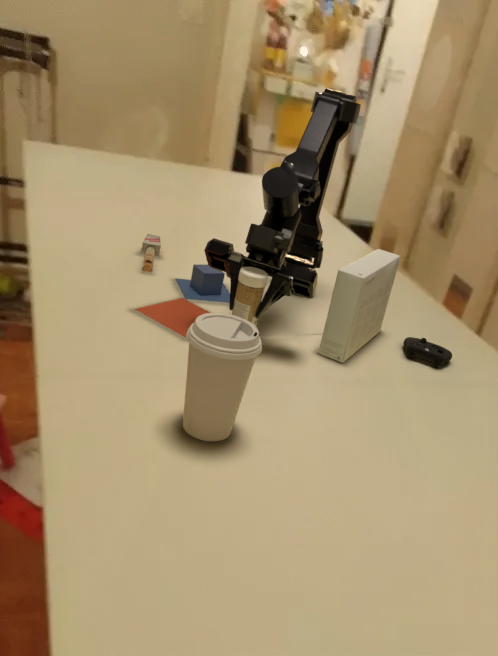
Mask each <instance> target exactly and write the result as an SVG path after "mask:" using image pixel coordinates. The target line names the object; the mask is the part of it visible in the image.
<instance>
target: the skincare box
mask: <svg viewBox="0 0 498 656" xmlns="http://www.w3.org/2000/svg"><path fill="white" fill-rule="evenodd" d="M401 257H402V256H401V255H400V254H396V253H393V252H390V251H386V250H384V249H380V248H377V249H375V250H373V251H371V252H369V253H367V254H365V255H363V256H361V257H360V258H358V259H356V260H354V261H352V262H350V263H348V264H346V265H344V266H342V267H341V268H339V269H337V272H336V273H337V274H336V277H335V281H334V285H333V286H334V287H333V290H332V294H331V299H330V303H329V307H328V312H327V316H326V320H325V324H324V329H323V332H322V336H321V341H320V345H319V349H318V354H319V355H321V356H324V357H327V358H329V359H330V360H331V359H332V360H334V361H337V362H339V363H341V364H343V363H345V362H346V361H347V360H348V359H349V358H350V357H352V356H353V355H354V354H355V353H356V352H357V351H359V350H360V349H361V348H363V347H364V345H367V343H369V341H371V340H372V339H373V338H374V337H375V336H376V335H378V334H379V333H380V332H381V329H382V326H383V323H384V318H385V315H386V311H387V308H388V303H389V300H390V297H391V293H392V289H393V286H394V282H395V279H396V276H397V275H396V274H397V272H398V267H399V265H400V261H401Z"/></svg>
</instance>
